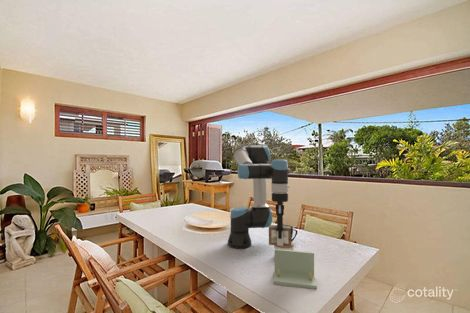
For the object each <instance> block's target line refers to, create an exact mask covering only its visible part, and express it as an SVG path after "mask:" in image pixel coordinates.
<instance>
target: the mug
mask: <svg viewBox="0 0 470 313" xmlns="http://www.w3.org/2000/svg"><path fill="white" fill-rule="evenodd" d="M283 226H291V242H293V241H294V240H295V238H297V237H296V236H297V234H298V230H297V229H294V227H293V225H288V224H283ZM294 232H295V234H294ZM293 235H294V236H293Z"/></svg>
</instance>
